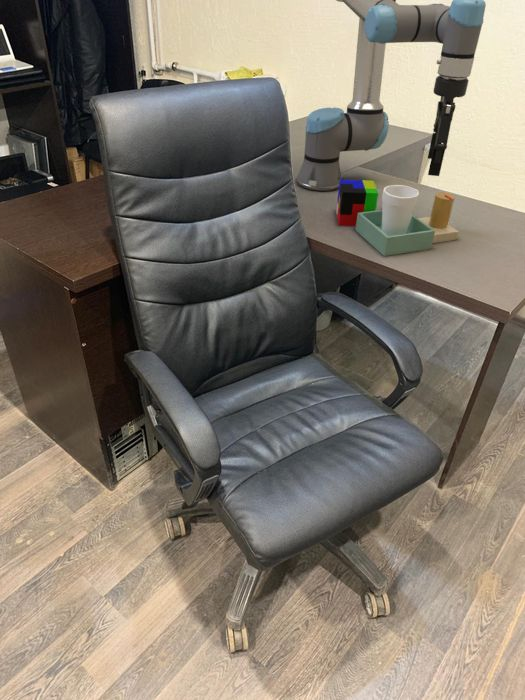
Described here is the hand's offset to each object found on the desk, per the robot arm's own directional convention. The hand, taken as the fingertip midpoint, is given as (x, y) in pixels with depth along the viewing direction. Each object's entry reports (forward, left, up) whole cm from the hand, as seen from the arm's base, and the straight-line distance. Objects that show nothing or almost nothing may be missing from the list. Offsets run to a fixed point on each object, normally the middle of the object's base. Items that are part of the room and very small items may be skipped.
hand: (433, 166), depth 137 cm
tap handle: (0, +6, -17) cm, 18 cm away
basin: (0, -8, -20) cm, 21 cm away
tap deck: (0, +5, -20) cm, 20 cm away
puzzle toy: (-16, -12, -20) cm, 28 cm away
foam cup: (0, -8, -19) cm, 21 cm away
